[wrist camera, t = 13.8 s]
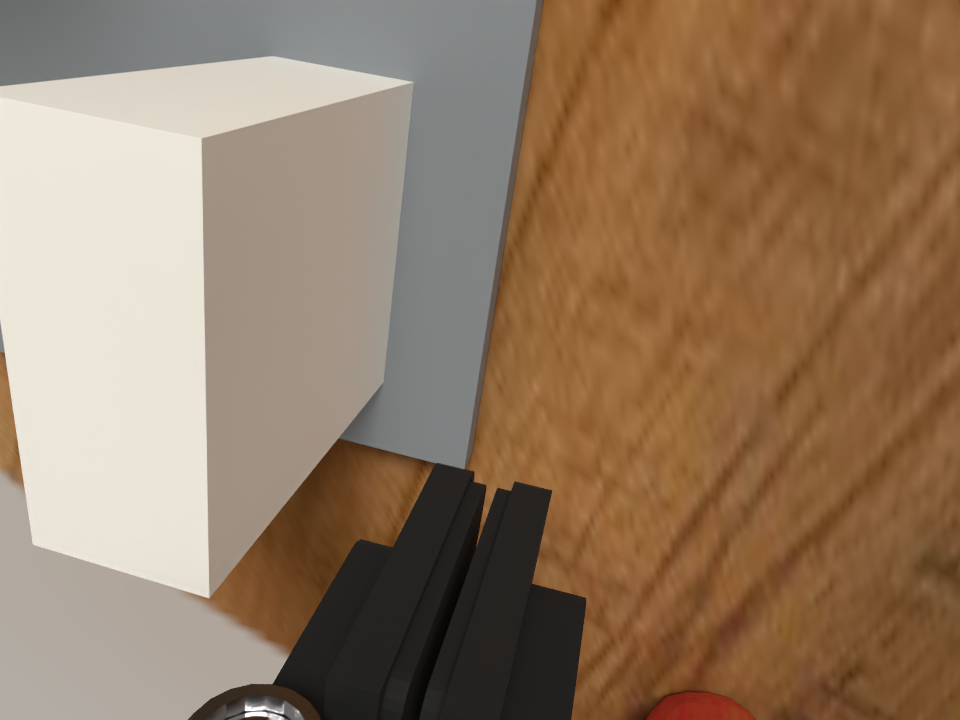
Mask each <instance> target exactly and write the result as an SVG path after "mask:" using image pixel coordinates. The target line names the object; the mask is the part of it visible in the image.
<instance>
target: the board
mask: <svg viewBox="0 0 960 720" xmlns="http://www.w3.org/2000/svg"><path fill="white" fill-rule="evenodd" d="M542 6H543V0H0V86H8V85H17V84H26V83H35V82H44V81H53V80H62V79H71V78H80V77H89V76H98V75H107V74H116V73H125V72H134V71H143V70H152V69H161V68H170V67H179V66H188V65H197V64H206V63H215V62H224V61H233V60H242V59H251V58H260V57H269V56H275V57H281V58H286V59H292V60H297V61H302V62H308V63H313V64H319V65H324V66H329V67H335V68H340V69H346V70H351V71H356V72H362V73H367V74H373V75H378V76H383V77H389V78H394V79H400V80H405V81H410V82H414V84H413V94H412V104H411V114H410V124H409V134H408V144H407V154H406V164H405V174H404V184H403V194H402V204H401V214H400V224H399V234H398V244H397V254H396V264H395V274H394V284H393V293H392V303H391V313H390V323H389V333H388V343H387V353H386V363H385V373H384V382H383V384H382V385H381V386H380V387H379V389H378V390H377V391H376V392H375V393H374V395H373V396H372V397H371V398H370V400H369V401H368V402H367V403H366V405H365V406H364V407H363V408H362V410H361V411H360V412H359V413H358V415H357V416H356V417H355V418H354V420H353V421H352V422H351V423H350V424H349V426H348V427H347V428H346V429H345V431H344V432H343V433H342V434H341V436H340V437H339V439H343V440H347V441H351V442H355V443H359V444H362V445H366V446H370V447H374V448H378V449H382V450H386V451H390V452H394V453H398V454H401V455H405V456H409V457H413V458H417V459H421V460H425V461H429V462H433V463H441V464H445V465H449V466H453V467H457V468H461V469H465V468H466V466H467V464H468V462H469V459H470V457H471V455H472V450H473V444H474V438H475V431H476V425H477V418H478V412H479V406H480V399H481V393H482V387H483V380H484V374H485V368H486V361H487V355H488V349H489V342H490V336H491V330H492V323H493V317H494V311H495V304H496V298H497V292H498V285H499V279H500V273H501V266H502V260H503V253H504V247H505V241H506V234H507V228H508V222H509V215H510V209H511V203H512V196H513V190H514V184H515V177H516V171H517V165H518V158H519V152H520V146H521V139H522V133H523V127H524V120H525V114H526V108H527V101H528V95H529V88H530V82H531V76H532V69H533V63H534V57H535V50H536V44H537V38H538V31H539V25H540V19H541V12H542ZM0 352H3V353H5V350H4V343H3V336H2V330H1V323H0Z"/></svg>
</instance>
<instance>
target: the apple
mask: <svg viewBox="0 0 960 720" xmlns="http://www.w3.org/2000/svg"><path fill="white" fill-rule="evenodd" d="M646 720H755V719H754V717H753V716H752V715H751V714H750V712H749V711H748V710H746V709H745V708H743V707H742V706H740V705H739V704H737V703H736V702H734V701H733V700H732V699H730V698H727V697H723V696H719V695H716V694H712V693H708V692H684V693H680V694H676V695H672V696H667V697H665V698H664V699H663V700H662V701H661V702H660V703H659V704H658V705H657V706H656V707H654V708H653V709H652V710H651V712H650V714H649V715H648V717H647V719H646Z"/></svg>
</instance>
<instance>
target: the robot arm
mask: <svg viewBox="0 0 960 720" xmlns="http://www.w3.org/2000/svg"><path fill="white" fill-rule="evenodd" d="M485 493H486V485H484V484H480V483H476V482H474V471H470V470H466V469H461V468H457V467H453V466H449V465H445V464H441V463H436V464H435V466H434V468H433V470H432V472H431V474H430V476H429V477H428V479H427V481H426V483H425V485H424V487H423V489H422V491H421V493H420V495H419V497H418V499H417V501H416V503H415V505H414V507H413V509H412V511H411V513H410V515H409V517H408V519H407V521H406V523H405V525H404V527H403V529H402V531H401V533H400V535H399V537H398V538H397V540H396V542H395V544H394V546H393V548H392V547H388V546H385V545H381V544H377V543H373V542H369V541H365V540H362V539H360V540H359V541H357V542H356V544H355V545H354V546H353V548H352V549H351V551H350V553H349V554H348V556H347V558H346V560H345V561H344V563H343V565H342V566H341V568H340V570H339V572H338V573H337V575H336V577H335V578H334V580H333V582H332V583H331V585H330V587H329V589H328V590H327V592H326V594H325V595H324V597H323V599H322V601H321V602H320V604H319V606H318V607H317V609H316V611H315V613H314V614H313V616H312V618H311V619H310V621H309V623H308V625H307V626H306V628H305V630H304V631H303V633H302V635H301V637H300V638H299V640H298V642H297V643H296V645H295V647H294V649H293V650H292V652H291V654H290V655H289V657H288V659H287V660H286V662H285V664H284V666H283V667H282V669H281V671H280V673H279V674H278V676H277V678H276V679H275V681H274V683H273V684H250V685H246V686H242V687H237V688H233V689H230V690H228V691H226V692H224V693H222V694H220V695H218V696H216V697H214V698H212V699H210V700H209V701H208V702H206V703H205V704H204V705H203V706H202V707H201V708H199V709H198V710H197V711H196V712H195V713H194V714H193V715H192V716H191V717H190V718H189V719H188V720H571V717H572V709H573V701H574V693H575V686H576V678H577V670H578V663H579V655H580V647H581V640H582V632H583V624H584V617H585V609H586V598H584V597H581V596H577V595H573V594H569V593H565V592H561V591H558V590H554V589H550V588H546V587H542V586H538V585H534V584H532V581H533V576H534V571H535V567H536V562H537V558H538V553H539V549H540V544H541V539H542V535H543V530H544V526H545V521H546V517H547V512H548V507H549V503H550V498H551V494H552V490H548V489H544V488H540V487H536V486H532V485H527V484H523V483H519V482H514V485H513V488H512V491H508V490H504V489H500V488H497V491H496V493H495V496H494V499H493V502H492V505H491V507H490V510H489V513H488V516H487V519H486V522H485V525H484V527H483V530H482V533H481V536H480V539H479V542H478V544H477V540H478V534H479V528H480V522H481V517H482V511H483V505H484V499H485ZM476 545H477V547H476Z"/></svg>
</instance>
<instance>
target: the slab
mask: <svg viewBox="0 0 960 720" xmlns="http://www.w3.org/2000/svg"><path fill="white" fill-rule="evenodd" d="M413 84H414V82H410V81H405V80H400V79H394V78H389V77H383V76H378V75H373V74H367V73H362V72H356V71H351V70H346V69H340V68H335V67H329V66H324V65H319V64H313V63H308V62H302V61H297V60H292V59H286V58H281V57H275V56H269V57H260V58H251V59H242V60H233V61H224V62H215V63H206V64H197V65H188V66H179V67H170V68H161V69H152V70H143V71H134V72H125V73H116V74H107V75H98V76H89V77H80V78H71V79H62V80H53V81H44V82H35V83H26V84H17V85H8V86H0V323H1V330H2V336H3V343H4V350H5V357H6V364H7V371H8V377H9V384H10V391H11V398H12V405H13V412H14V418H15V425H16V432H17V439H18V446H19V453H20V459H21V466H22V473H23V480H24V487H25V494H26V500H27V507H28V514H29V520H30V528H31V535H32V541H33V545H36V546H39V547H43V548H46V549H49V550H52V551H56V552H59V553H63V554H66V555H69V556H72V557H76V558H79V559H82V560H85V561H88V562H92V563H95V564H98V565H102V566H105V567H108V568H111V569H115V570H118V571H121V572H124V573H128V574H131V575H134V576H138V577H141V578H145V579H147V580H151V581H154V582H157V583H161V584H164V585H167V586H170V587H174V588H177V589H180V590H184V591H187V592H190V593H193V594H197V595H200V596H203V597H207V598H210V597H211V596H212V594H213V593H214V592H215V591H216V589H217V588H218V587H219V586H220V584H221V583H222V582H223V581H224V579H225V578H226V577H227V576H228V575H229V573H230V572H231V571H232V570H233V568H234V567H235V566H236V565H237V563H238V562H239V561H240V560H241V558H242V557H243V556H244V555H245V553H246V552H247V551H248V550H249V548H250V547H251V546H252V545H253V544H254V542H255V541H256V540H257V539H258V537H259V536H260V535H261V534H262V532H263V531H264V530H265V529H266V527H267V526H268V525H269V524H270V522H271V521H272V520H273V519H274V517H275V516H276V515H277V514H278V513H279V511H280V510H281V509H282V508H283V506H284V505H285V504H286V503H287V501H288V500H289V499H290V498H291V496H292V495H293V494H294V493H295V491H296V490H297V489H298V488H299V486H300V485H301V484H302V483H303V482H304V480H305V479H306V478H307V477H308V475H309V474H310V473H311V472H312V470H313V469H314V468H315V467H316V465H317V464H318V463H319V462H320V460H321V459H322V458H323V457H324V455H325V454H326V453H327V452H328V451H329V449H330V448H331V447H332V446H333V444H334V443H335V442H336V441H337V439H338V438H339V437H340V436H341V434H342V433H343V432H344V431H345V429H346V428H347V427H348V426H349V424H350V423H351V422H352V421H353V420H354V418H355V417H356V416H357V415H358V413H359V412H360V411H361V410H362V408H363V407H364V406H365V405H366V403H367V402H368V401H369V400H370V398H371V397H372V396H373V395H374V393H375V392H376V391H377V390H378V389H379V387H380V386H381V385H382V384H383V382H384V373H385V363H386V353H387V343H388V333H389V323H390V313H391V303H392V293H393V284H394V274H395V264H396V254H397V244H398V234H399V224H400V214H401V204H402V194H403V184H404V174H405V164H406V154H407V144H408V134H409V124H410V114H411V104H412V94H413Z"/></svg>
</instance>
